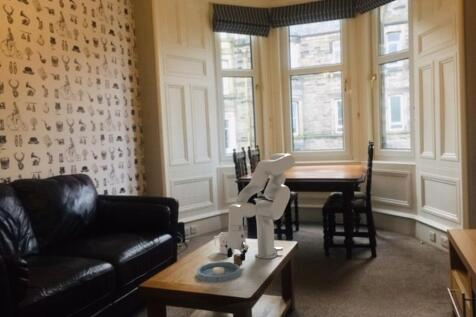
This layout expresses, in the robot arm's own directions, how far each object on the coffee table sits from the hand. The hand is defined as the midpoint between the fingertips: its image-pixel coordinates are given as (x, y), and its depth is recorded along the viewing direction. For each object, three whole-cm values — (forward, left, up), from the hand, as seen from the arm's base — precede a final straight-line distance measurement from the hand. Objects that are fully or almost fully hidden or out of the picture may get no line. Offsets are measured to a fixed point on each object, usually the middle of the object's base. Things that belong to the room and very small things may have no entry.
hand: (236, 259), depth 218 cm
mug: (+1, -23, -3) cm, 24 cm away
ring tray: (+12, +11, -3) cm, 16 cm away
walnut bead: (-1, 0, -3) cm, 3 cm away
